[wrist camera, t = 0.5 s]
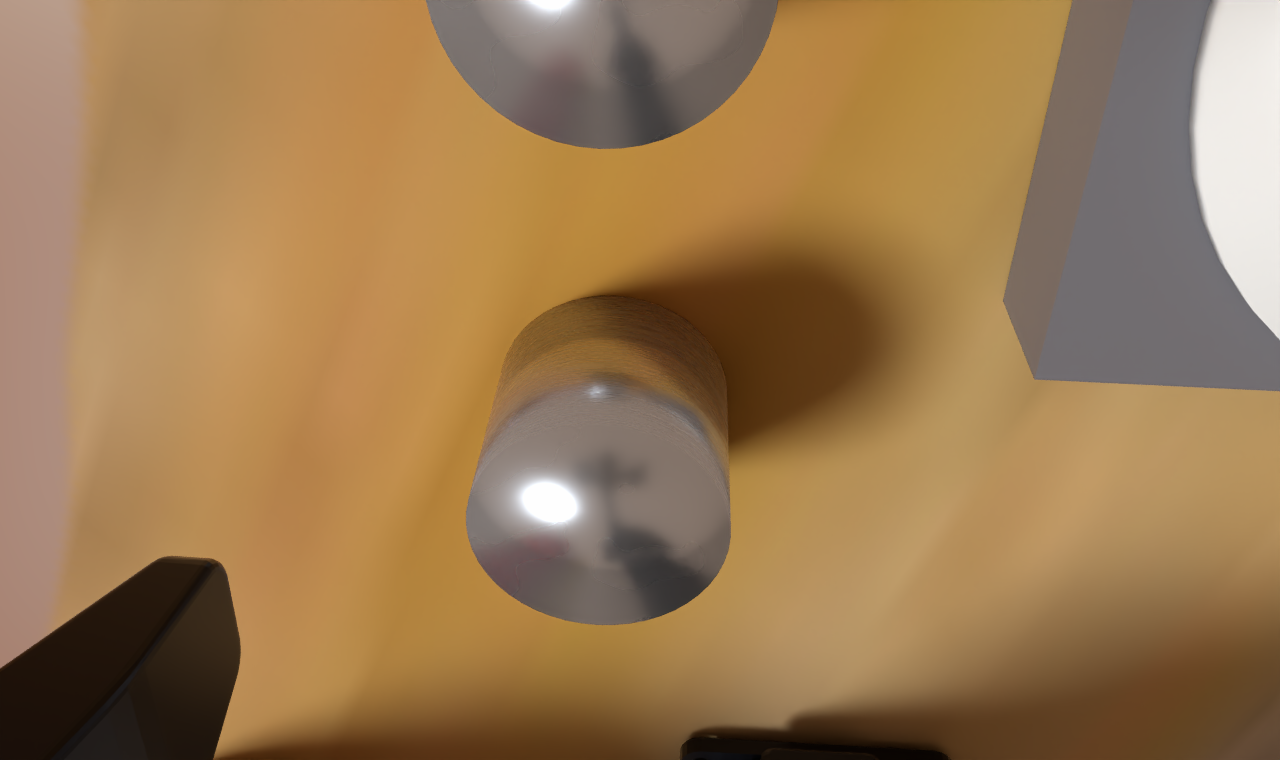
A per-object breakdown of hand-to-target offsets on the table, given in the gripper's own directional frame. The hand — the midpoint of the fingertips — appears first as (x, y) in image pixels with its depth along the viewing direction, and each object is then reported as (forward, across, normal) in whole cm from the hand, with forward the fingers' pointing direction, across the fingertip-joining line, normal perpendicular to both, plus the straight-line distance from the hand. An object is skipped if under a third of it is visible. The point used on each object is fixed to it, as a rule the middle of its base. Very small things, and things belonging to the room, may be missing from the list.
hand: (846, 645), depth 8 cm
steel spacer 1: (+13, +3, -2) cm, 13 cm away
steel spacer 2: (+13, +2, +6) cm, 15 cm away
